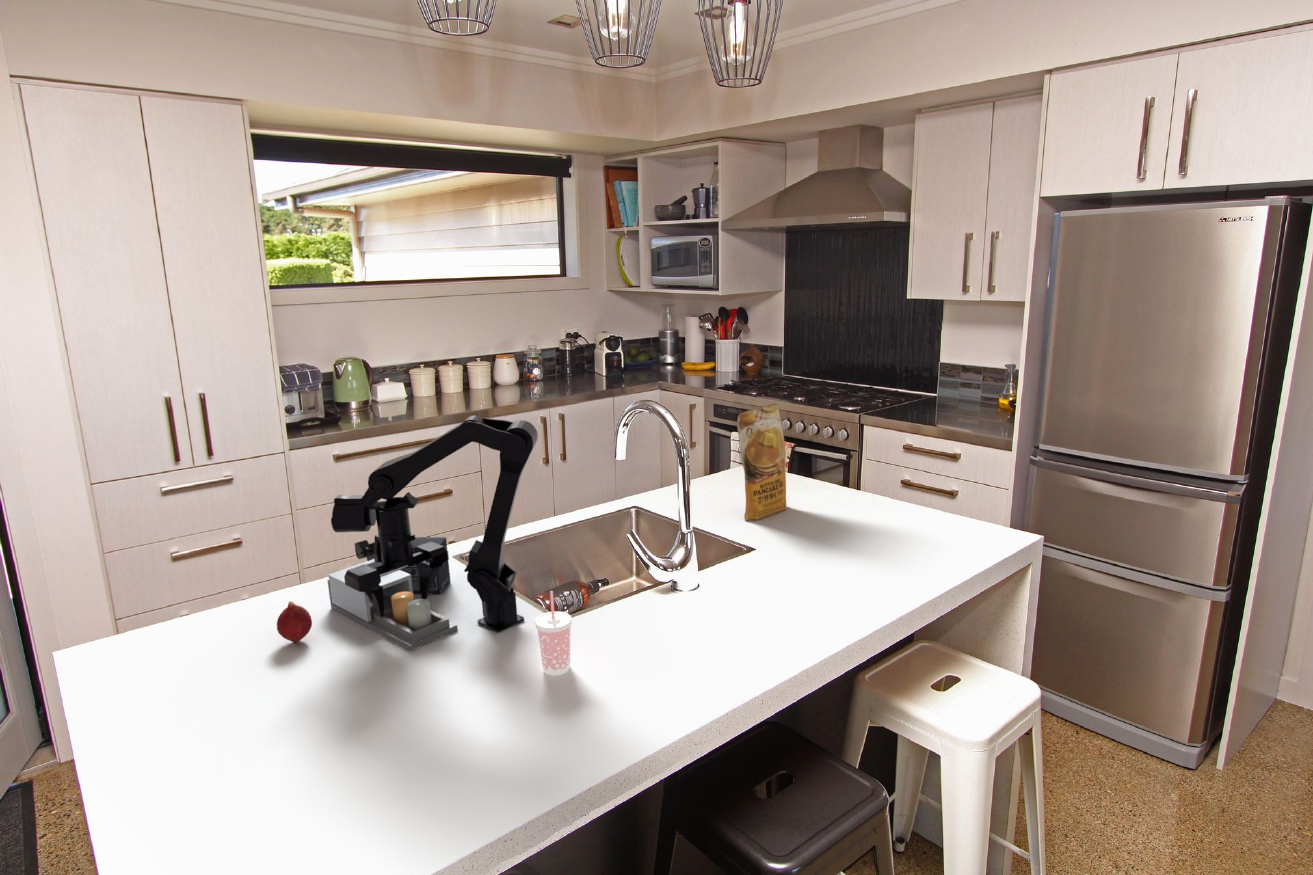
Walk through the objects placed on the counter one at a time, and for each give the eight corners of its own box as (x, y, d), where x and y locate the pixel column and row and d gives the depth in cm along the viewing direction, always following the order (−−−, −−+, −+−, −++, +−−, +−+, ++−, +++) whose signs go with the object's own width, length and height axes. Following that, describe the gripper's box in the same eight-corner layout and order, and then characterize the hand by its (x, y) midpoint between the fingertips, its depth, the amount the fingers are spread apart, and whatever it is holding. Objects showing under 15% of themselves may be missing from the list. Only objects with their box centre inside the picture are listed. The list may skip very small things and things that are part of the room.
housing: (457, 629, 148) (454, 600, 146) (410, 650, 140) (407, 620, 139) (376, 591, 166) (373, 564, 164) (331, 608, 159) (327, 580, 157)
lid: (414, 603, 157) (409, 563, 155) (367, 621, 149) (362, 580, 147) (377, 586, 165) (372, 548, 163) (332, 602, 158) (326, 563, 156)
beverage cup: (534, 663, 135) (528, 588, 132) (568, 655, 137) (563, 581, 134) (543, 681, 129) (538, 602, 126) (579, 672, 132) (574, 595, 128)
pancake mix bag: (728, 518, 203) (728, 412, 197) (776, 501, 216) (777, 400, 209) (748, 524, 198) (748, 415, 192) (796, 506, 211) (797, 404, 204)
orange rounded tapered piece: (408, 613, 153) (405, 589, 152) (420, 619, 150) (417, 595, 149) (389, 621, 150) (387, 596, 149) (401, 627, 147) (398, 602, 146)
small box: (452, 581, 170) (447, 535, 167) (441, 594, 163) (436, 547, 161) (404, 581, 171) (399, 535, 168) (392, 594, 164) (386, 546, 162)
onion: (321, 636, 147) (315, 596, 145) (298, 651, 142) (292, 610, 140) (296, 632, 149) (290, 593, 147) (272, 647, 143) (266, 606, 142)
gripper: (413, 508, 158) (421, 580, 161) (324, 535, 144) (335, 613, 148) (446, 519, 151) (454, 594, 154) (355, 548, 137) (366, 630, 141)
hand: (403, 607), depth 149 cm, fingers open, 9 cm apart
